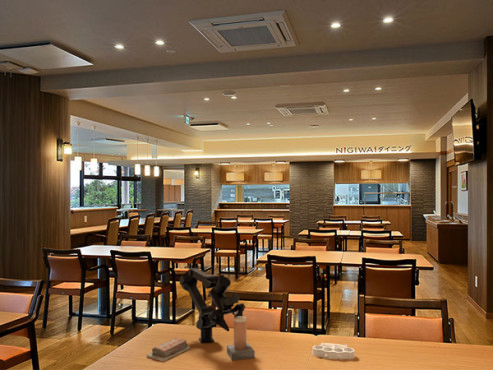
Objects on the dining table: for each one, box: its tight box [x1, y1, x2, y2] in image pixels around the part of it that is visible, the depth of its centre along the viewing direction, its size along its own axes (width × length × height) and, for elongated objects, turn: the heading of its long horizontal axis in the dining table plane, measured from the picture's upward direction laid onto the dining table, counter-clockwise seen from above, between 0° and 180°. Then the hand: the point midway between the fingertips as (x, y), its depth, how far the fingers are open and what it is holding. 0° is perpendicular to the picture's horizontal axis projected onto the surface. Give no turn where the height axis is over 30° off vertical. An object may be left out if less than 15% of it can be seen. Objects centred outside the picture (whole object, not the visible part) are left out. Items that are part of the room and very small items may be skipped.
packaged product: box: [146, 337, 191, 362], centre depth 194 cm, size 18×5×10 cm
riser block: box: [226, 342, 256, 361], centre depth 191 cm, size 10×10×3 cm
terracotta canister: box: [233, 316, 248, 350], centre depth 191 cm, size 6×6×13 cm
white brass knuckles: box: [312, 342, 356, 360], centre depth 191 cm, size 3×18×15 cm
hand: (236, 328), depth 193 cm, fingers open, 9 cm apart
